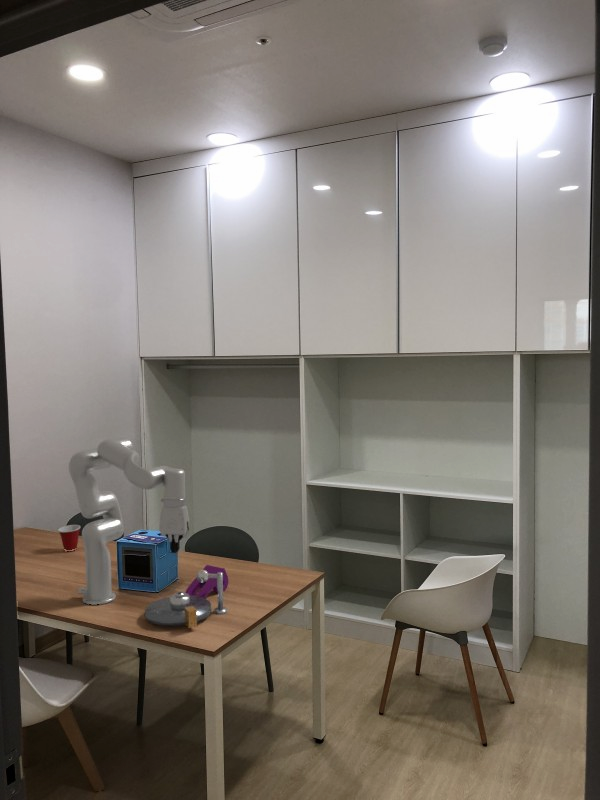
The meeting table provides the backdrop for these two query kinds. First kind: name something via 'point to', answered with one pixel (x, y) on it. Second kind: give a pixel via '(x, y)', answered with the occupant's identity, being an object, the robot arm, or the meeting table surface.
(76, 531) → the plastic cup
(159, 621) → the turntable
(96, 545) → the robot arm
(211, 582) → the mounting bracket
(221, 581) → the dial post
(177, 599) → the cover
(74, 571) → the meeting table surface
